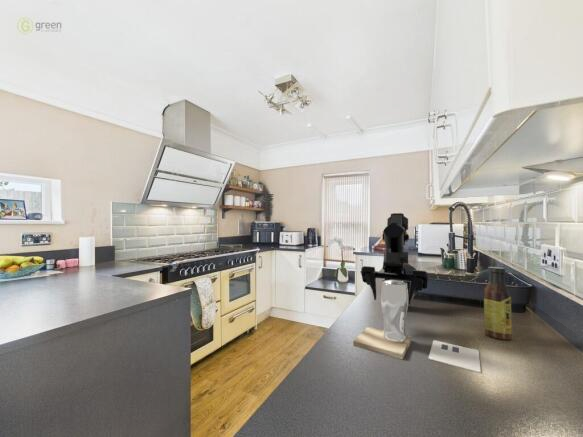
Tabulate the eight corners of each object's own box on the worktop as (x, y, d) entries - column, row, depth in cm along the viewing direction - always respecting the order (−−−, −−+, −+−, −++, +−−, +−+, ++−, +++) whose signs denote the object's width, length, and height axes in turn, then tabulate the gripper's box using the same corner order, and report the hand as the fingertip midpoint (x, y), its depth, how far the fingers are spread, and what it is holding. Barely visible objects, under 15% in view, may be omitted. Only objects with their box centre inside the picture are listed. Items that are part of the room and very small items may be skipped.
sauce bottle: (512, 343, 70) (511, 270, 71) (484, 336, 74) (483, 267, 74) (510, 335, 75) (509, 267, 76) (484, 329, 79) (483, 265, 80)
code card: (433, 340, 70) (433, 340, 70) (478, 351, 65) (478, 350, 65) (428, 359, 61) (428, 358, 61) (480, 373, 55) (480, 372, 55)
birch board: (367, 330, 77) (367, 326, 77) (411, 341, 70) (411, 336, 70) (353, 345, 67) (353, 340, 67) (402, 359, 60) (402, 354, 60)
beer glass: (393, 331, 74) (393, 278, 74) (414, 340, 67) (414, 283, 68) (375, 335, 71) (375, 280, 71) (395, 345, 64) (395, 286, 65)
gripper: (362, 241, 83) (355, 282, 72) (427, 243, 75) (429, 290, 64) (365, 262, 90) (360, 302, 79) (426, 266, 82) (428, 311, 71)
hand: (391, 301), depth 73 cm, fingers open, 9 cm apart
